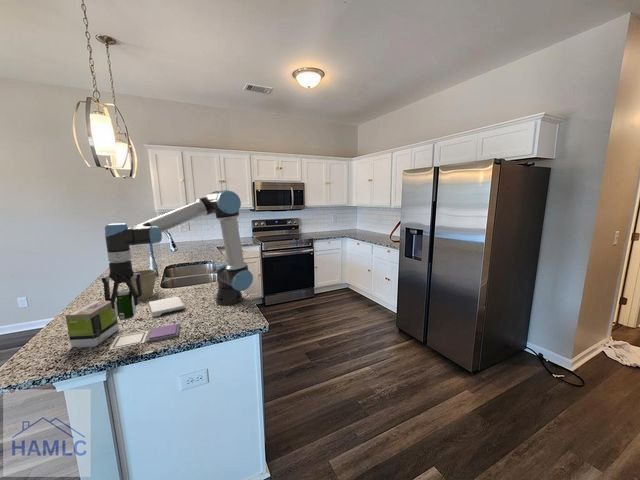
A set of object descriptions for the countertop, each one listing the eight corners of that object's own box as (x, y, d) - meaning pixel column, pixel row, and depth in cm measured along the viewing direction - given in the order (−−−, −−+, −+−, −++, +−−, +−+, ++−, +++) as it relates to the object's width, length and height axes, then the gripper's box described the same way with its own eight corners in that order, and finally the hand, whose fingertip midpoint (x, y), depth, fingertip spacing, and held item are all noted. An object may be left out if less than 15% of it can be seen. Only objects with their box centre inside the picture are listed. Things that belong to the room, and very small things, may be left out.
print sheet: (148, 331, 125) (148, 330, 125) (143, 343, 114) (143, 342, 114) (117, 336, 120) (117, 336, 120) (108, 350, 109) (108, 349, 109)
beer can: (129, 320, 113) (126, 293, 111) (116, 320, 113) (112, 293, 111) (137, 315, 118) (134, 288, 116) (124, 315, 118) (121, 289, 116)
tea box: (97, 330, 126) (92, 300, 124) (119, 329, 126) (115, 299, 124) (69, 348, 111) (64, 314, 109) (95, 347, 112) (90, 313, 109)
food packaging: (149, 307, 155) (152, 318, 139) (148, 301, 154) (152, 312, 138) (178, 301, 164) (184, 311, 148) (178, 296, 163) (184, 305, 147)
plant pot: (128, 297, 170) (125, 272, 167) (155, 291, 179) (153, 268, 177) (132, 303, 158) (128, 277, 156) (160, 297, 168) (158, 272, 166)
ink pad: (180, 325, 130) (179, 322, 130) (178, 336, 119) (177, 333, 119) (151, 330, 125) (150, 327, 125) (146, 342, 114) (146, 339, 114)
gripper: (88, 265, 105) (96, 321, 108) (144, 260, 112) (150, 313, 115) (95, 261, 112) (102, 314, 115) (147, 257, 119) (152, 307, 122)
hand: (126, 313), depth 115 cm, fingers closed on beer can, 5 cm apart
